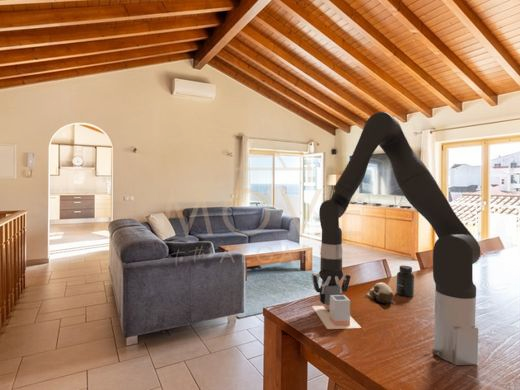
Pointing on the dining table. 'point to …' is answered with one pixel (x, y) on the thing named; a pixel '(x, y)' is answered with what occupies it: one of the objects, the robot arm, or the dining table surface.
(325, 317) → the pin board
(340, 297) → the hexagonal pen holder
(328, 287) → the charcoal sleeve
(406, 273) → the supplement bottle
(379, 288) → the skull
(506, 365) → the dining table surface
